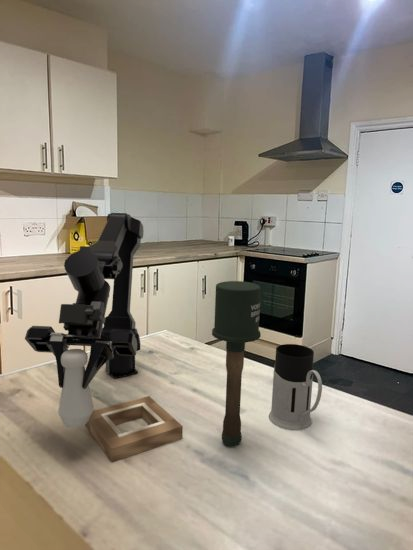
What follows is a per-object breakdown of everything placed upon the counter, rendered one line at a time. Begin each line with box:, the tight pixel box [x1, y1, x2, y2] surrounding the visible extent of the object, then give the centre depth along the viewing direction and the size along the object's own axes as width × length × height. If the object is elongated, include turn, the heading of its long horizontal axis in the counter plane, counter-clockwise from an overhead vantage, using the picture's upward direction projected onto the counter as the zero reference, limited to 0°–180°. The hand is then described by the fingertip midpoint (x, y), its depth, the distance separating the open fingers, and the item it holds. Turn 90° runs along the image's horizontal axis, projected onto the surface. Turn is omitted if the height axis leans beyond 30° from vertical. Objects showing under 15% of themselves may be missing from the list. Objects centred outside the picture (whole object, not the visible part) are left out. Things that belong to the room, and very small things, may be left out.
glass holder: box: [268, 343, 323, 431], centre depth 84 cm, size 9×14×15 cm, turn 18°
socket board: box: [85, 395, 184, 463], centre depth 81 cm, size 14×14×3 cm
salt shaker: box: [57, 348, 94, 429], centre depth 72 cm, size 6×6×13 cm
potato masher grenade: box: [211, 280, 262, 448], centre depth 76 cm, size 8×9×30 cm
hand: (72, 387), depth 71 cm, fingers closed on salt shaker, 3 cm apart
